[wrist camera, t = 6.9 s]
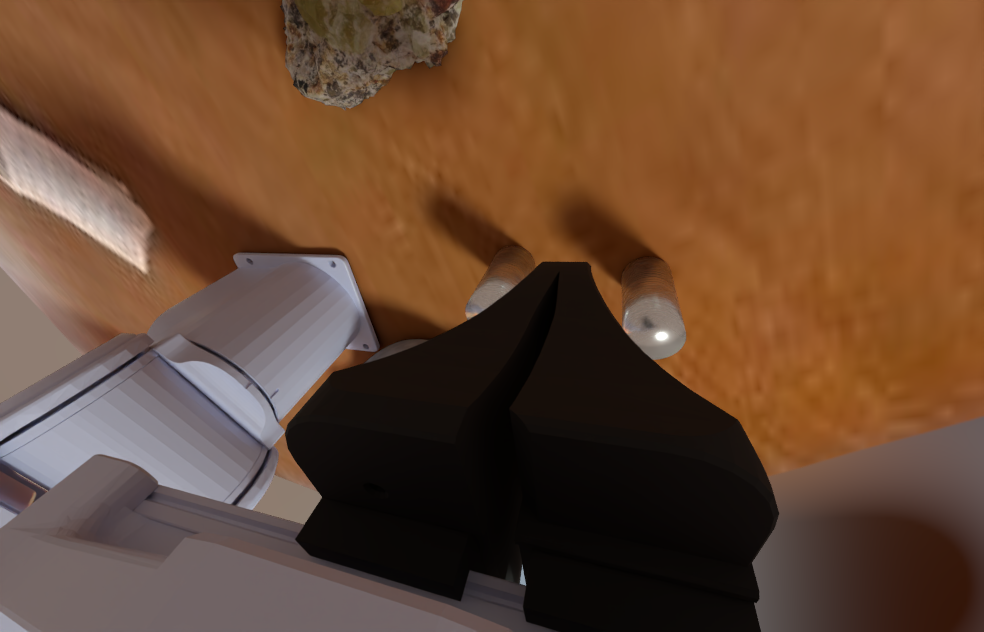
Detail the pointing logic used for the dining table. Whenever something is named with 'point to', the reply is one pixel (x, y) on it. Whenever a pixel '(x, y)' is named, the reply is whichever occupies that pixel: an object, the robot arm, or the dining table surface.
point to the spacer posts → (644, 298)
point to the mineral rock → (362, 43)
